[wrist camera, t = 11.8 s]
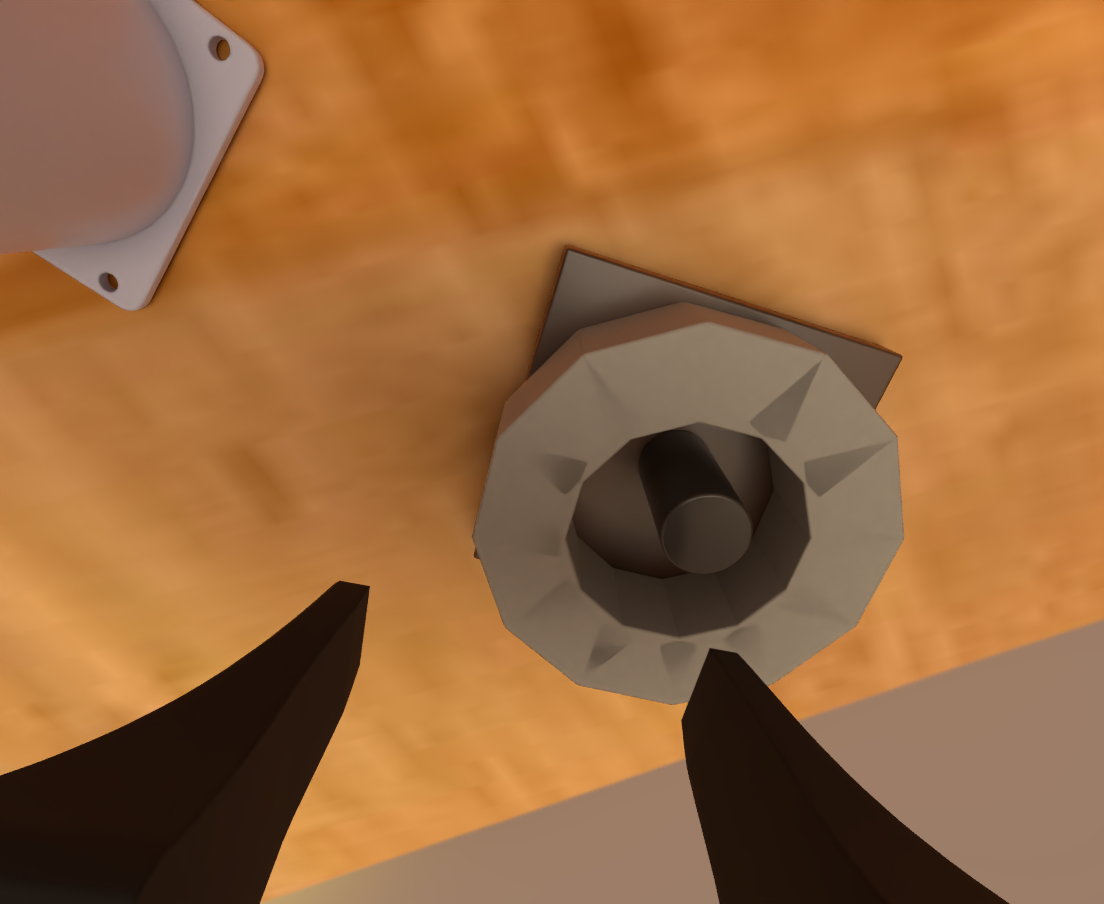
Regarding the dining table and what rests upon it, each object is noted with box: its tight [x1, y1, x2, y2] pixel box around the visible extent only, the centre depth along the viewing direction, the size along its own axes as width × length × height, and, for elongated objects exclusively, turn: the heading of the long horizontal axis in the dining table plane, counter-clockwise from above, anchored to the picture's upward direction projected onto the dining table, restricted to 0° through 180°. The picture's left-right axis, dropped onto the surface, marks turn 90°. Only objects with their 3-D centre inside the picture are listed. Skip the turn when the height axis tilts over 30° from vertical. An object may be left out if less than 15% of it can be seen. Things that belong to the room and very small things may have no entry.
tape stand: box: [474, 245, 902, 579], centre depth 17 cm, size 10×10×6 cm
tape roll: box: [472, 302, 904, 705], centre depth 18 cm, size 11×11×3 cm
